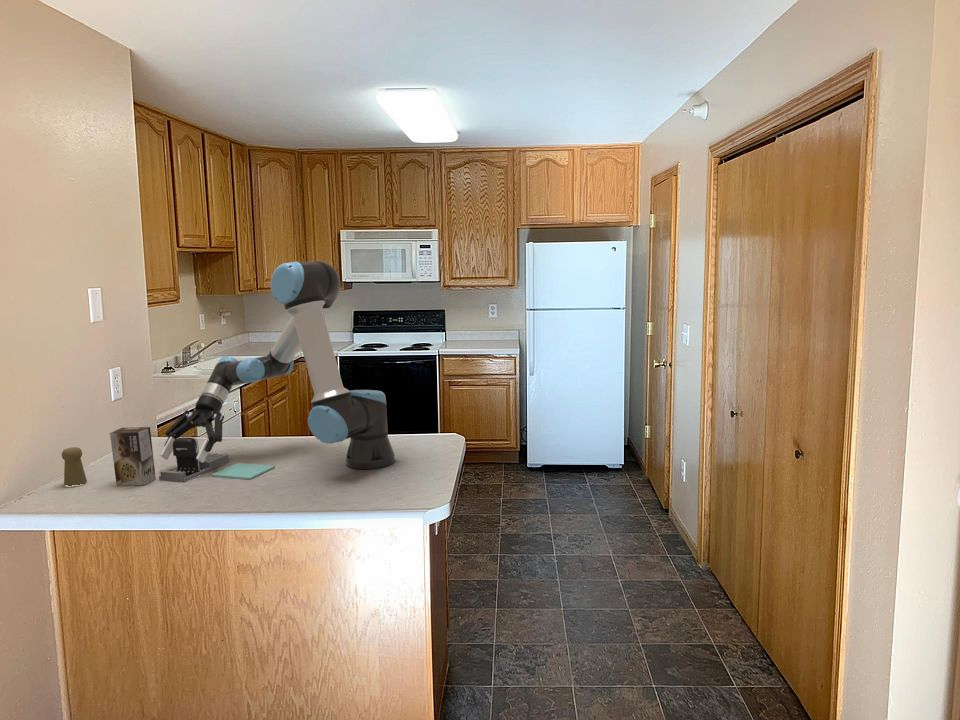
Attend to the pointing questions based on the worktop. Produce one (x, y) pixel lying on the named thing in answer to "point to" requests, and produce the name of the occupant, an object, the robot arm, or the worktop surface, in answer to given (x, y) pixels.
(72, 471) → the cork
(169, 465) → the worktop surface
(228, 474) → the mat
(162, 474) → the gray frame with rod
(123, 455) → the coffee box
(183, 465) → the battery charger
